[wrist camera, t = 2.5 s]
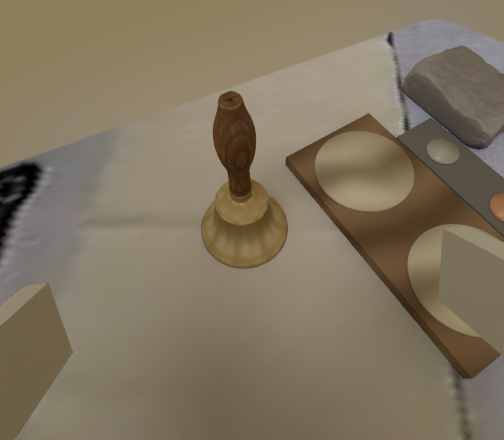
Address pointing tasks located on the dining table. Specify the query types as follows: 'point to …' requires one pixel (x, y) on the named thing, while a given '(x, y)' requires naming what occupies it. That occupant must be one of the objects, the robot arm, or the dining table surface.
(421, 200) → the board
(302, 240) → the dining table surface
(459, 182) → the pattern card
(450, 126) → the stone block
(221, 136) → the hand bell
